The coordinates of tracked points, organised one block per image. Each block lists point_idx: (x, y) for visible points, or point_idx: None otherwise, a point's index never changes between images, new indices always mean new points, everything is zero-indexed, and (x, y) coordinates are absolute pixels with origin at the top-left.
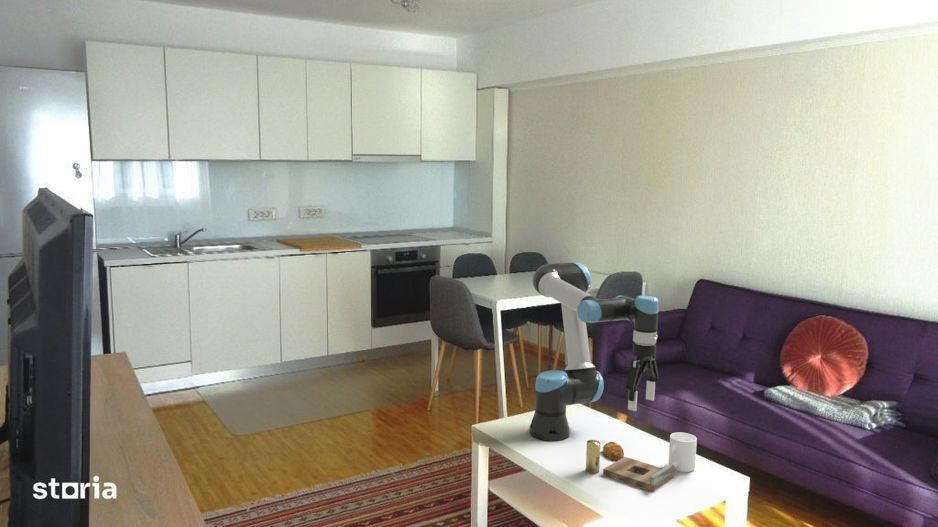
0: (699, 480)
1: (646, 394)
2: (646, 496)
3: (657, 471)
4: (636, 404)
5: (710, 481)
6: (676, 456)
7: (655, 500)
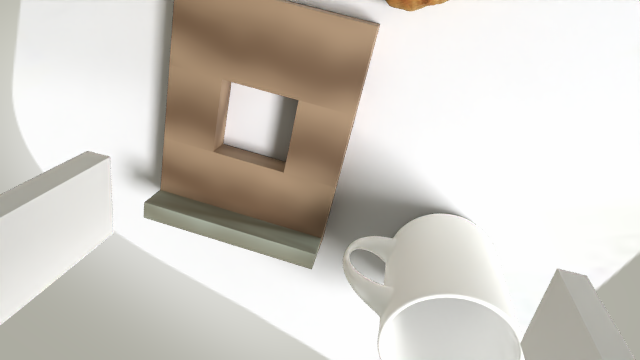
0: (347, 314)
1: (577, 316)
2: (126, 179)
3: (287, 197)
4: (58, 269)
5: (358, 343)
6: (385, 276)
7: (119, 209)
